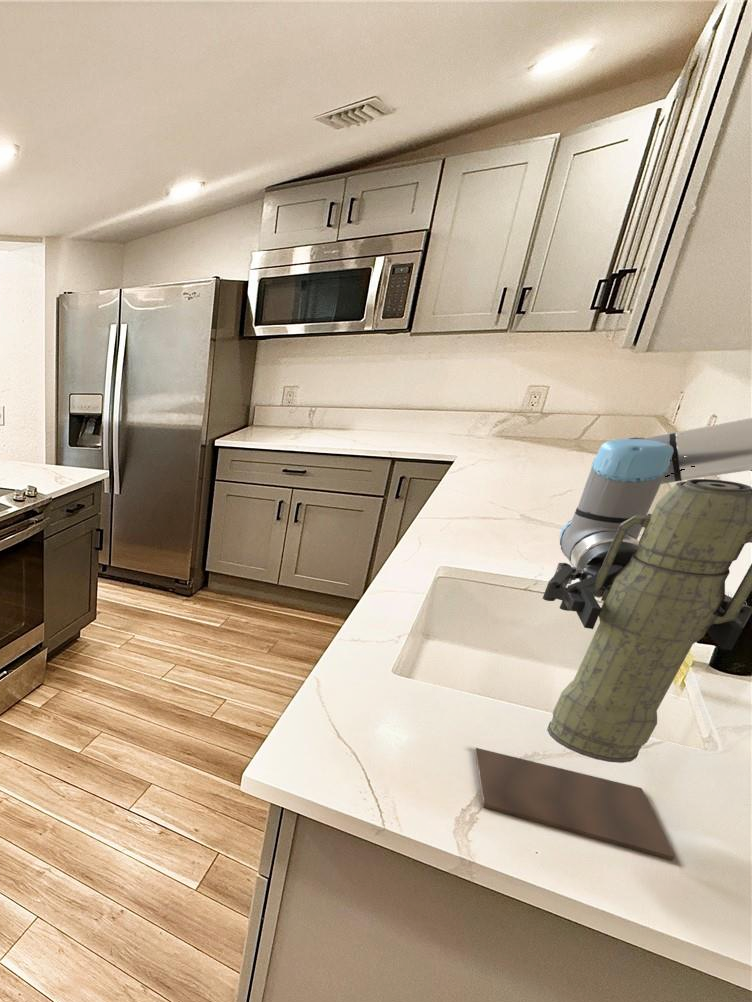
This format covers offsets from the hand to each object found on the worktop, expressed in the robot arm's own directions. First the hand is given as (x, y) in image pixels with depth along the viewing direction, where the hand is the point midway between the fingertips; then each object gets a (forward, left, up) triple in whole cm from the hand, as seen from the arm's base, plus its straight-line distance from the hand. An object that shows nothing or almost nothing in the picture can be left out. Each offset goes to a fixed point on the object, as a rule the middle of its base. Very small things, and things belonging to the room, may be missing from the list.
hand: (659, 628), depth 71 cm
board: (+1, -2, -28) cm, 28 cm away
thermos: (0, -4, -19) cm, 20 cm away
